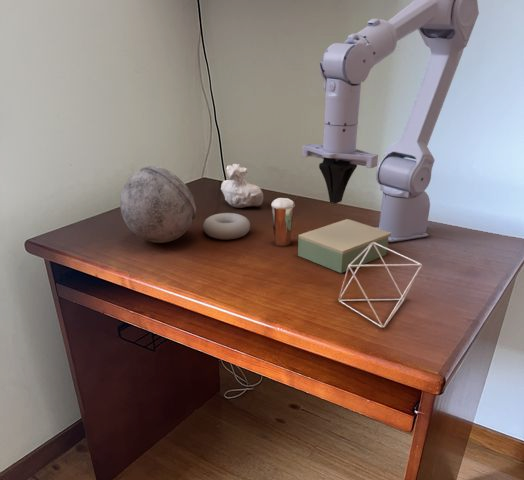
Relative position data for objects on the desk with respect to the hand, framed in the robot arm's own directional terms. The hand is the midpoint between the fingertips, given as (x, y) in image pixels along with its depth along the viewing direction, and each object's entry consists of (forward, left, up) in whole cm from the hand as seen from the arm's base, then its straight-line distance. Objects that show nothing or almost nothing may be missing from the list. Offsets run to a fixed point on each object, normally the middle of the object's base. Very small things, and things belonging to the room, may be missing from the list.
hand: (335, 201), depth 101 cm
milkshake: (+6, -9, -11) cm, 15 cm away
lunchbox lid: (-2, +1, -7) cm, 7 cm away
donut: (+15, -19, -11) cm, 27 cm away
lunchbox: (-2, +1, -10) cm, 11 cm away
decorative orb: (+29, -20, -11) cm, 37 cm away
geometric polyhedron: (+4, +23, -11) cm, 26 cm away
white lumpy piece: (+6, -36, -11) cm, 38 cm away
